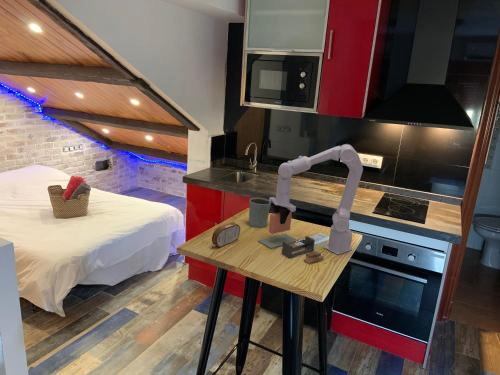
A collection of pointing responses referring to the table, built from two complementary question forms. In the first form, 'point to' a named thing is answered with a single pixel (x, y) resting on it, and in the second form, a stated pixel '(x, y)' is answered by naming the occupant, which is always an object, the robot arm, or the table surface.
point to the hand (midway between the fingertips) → (280, 222)
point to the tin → (226, 234)
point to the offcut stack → (313, 257)
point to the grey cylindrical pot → (258, 212)
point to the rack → (288, 248)
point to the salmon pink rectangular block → (275, 223)
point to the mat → (277, 241)
